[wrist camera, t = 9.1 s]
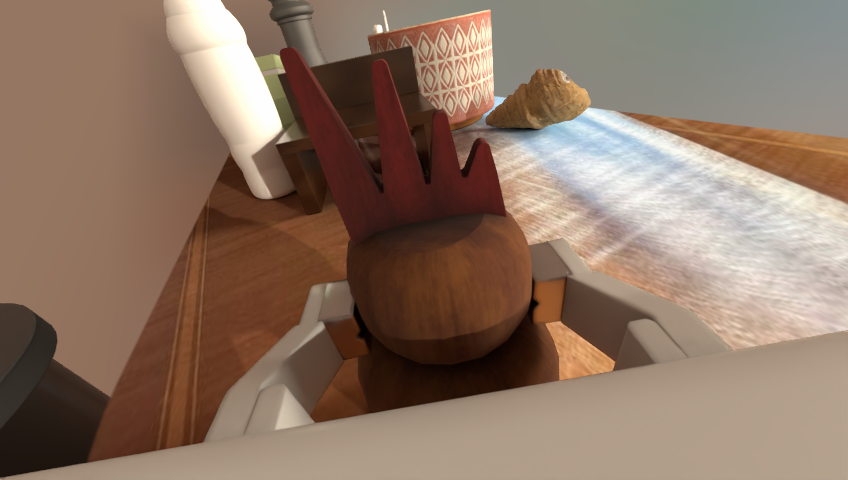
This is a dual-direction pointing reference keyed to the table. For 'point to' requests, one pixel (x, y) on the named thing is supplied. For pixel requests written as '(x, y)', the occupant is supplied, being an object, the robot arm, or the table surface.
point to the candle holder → (298, 29)
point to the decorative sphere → (276, 87)
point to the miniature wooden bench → (352, 115)
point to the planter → (449, 63)
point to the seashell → (541, 102)
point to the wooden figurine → (427, 256)
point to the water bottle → (231, 90)
